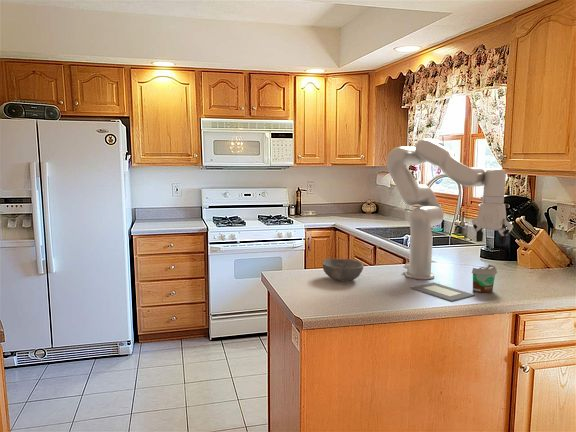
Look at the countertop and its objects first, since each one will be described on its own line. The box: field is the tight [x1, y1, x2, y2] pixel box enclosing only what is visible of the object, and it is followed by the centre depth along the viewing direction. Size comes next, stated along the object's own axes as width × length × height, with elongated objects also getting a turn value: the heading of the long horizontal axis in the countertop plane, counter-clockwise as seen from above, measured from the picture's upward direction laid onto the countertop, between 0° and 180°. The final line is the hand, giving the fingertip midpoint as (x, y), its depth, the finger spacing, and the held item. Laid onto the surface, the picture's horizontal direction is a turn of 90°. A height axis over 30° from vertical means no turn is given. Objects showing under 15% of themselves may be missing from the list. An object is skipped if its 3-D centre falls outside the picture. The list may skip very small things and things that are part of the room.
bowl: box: [322, 258, 365, 282], centre depth 200 cm, size 18×18×8 cm
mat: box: [410, 282, 475, 303], centre depth 185 cm, size 20×14×1 cm
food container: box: [471, 263, 498, 295], centre depth 185 cm, size 12×6×10 cm, turn 126°
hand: (490, 243), depth 183 cm, fingers open, 9 cm apart
